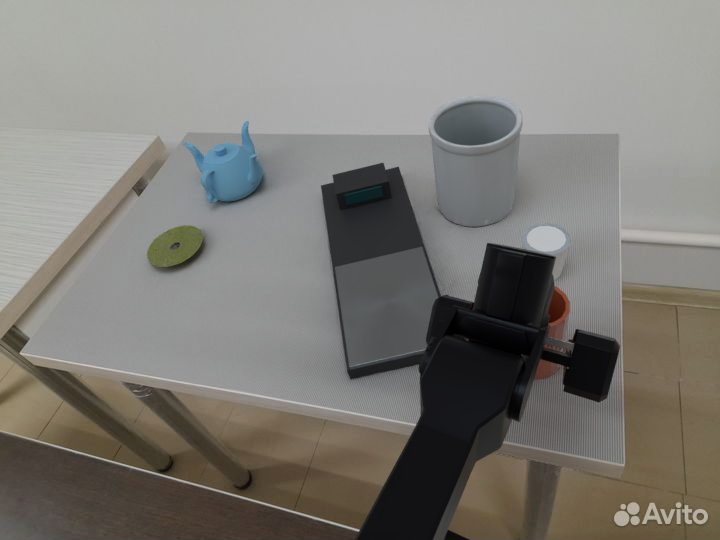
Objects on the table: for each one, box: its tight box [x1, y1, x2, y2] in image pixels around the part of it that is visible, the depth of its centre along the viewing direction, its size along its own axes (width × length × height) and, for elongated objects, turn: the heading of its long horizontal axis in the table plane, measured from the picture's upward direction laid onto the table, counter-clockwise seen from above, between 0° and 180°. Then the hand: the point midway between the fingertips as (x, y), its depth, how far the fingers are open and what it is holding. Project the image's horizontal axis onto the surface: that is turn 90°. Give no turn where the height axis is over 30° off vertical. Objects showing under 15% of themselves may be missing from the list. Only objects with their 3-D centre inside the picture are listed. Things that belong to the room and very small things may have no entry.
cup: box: [534, 285, 571, 380], centre depth 68 cm, size 7×7×12 cm
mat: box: [146, 225, 204, 268], centre depth 102 cm, size 11×11×2 cm
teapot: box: [182, 120, 264, 204], centre depth 111 cm, size 15×15×10 cm
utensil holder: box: [428, 94, 524, 228], centre depth 90 cm, size 15×15×18 cm
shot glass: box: [521, 222, 572, 281], centre depth 80 cm, size 7×7×7 cm
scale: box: [320, 162, 442, 380], centre depth 89 cm, size 44×16×6 cm, turn 8°
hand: (529, 333), depth 62 cm, fingers open, 9 cm apart
